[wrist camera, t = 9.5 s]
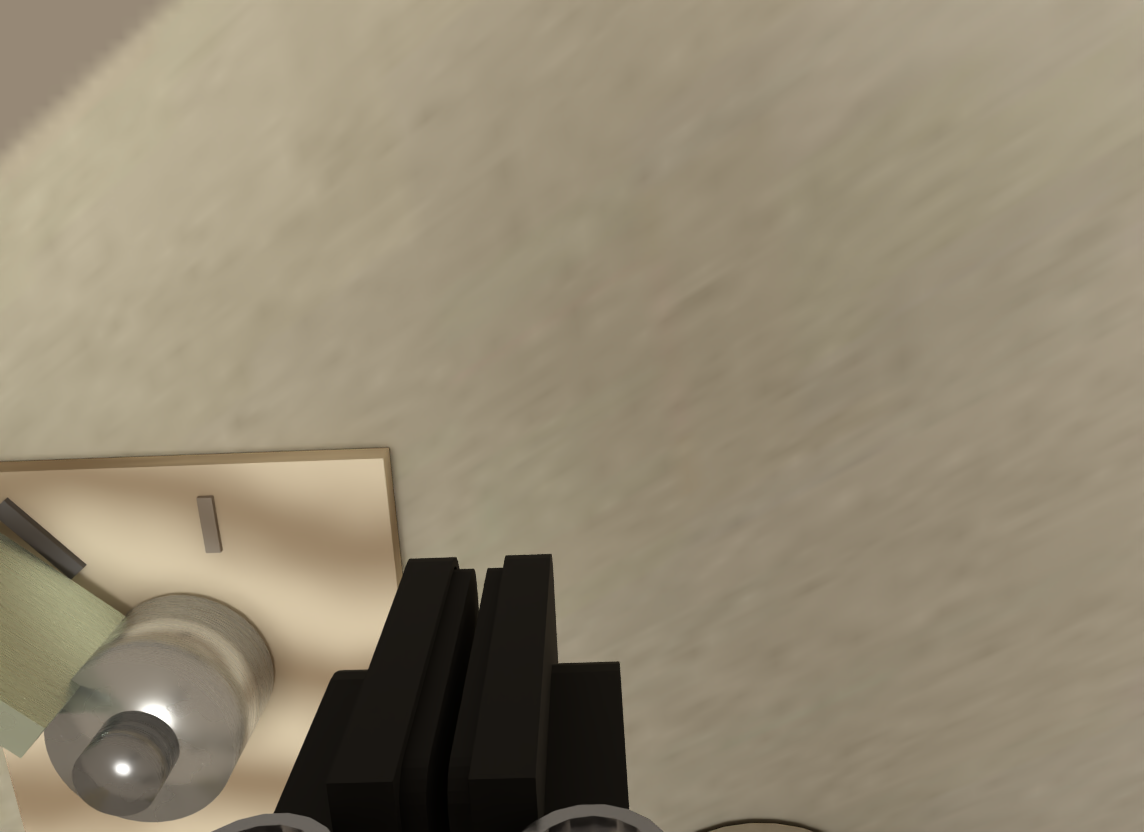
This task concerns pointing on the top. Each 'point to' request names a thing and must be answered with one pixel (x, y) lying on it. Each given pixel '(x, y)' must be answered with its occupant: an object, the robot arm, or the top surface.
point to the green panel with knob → (127, 690)
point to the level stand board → (218, 584)
